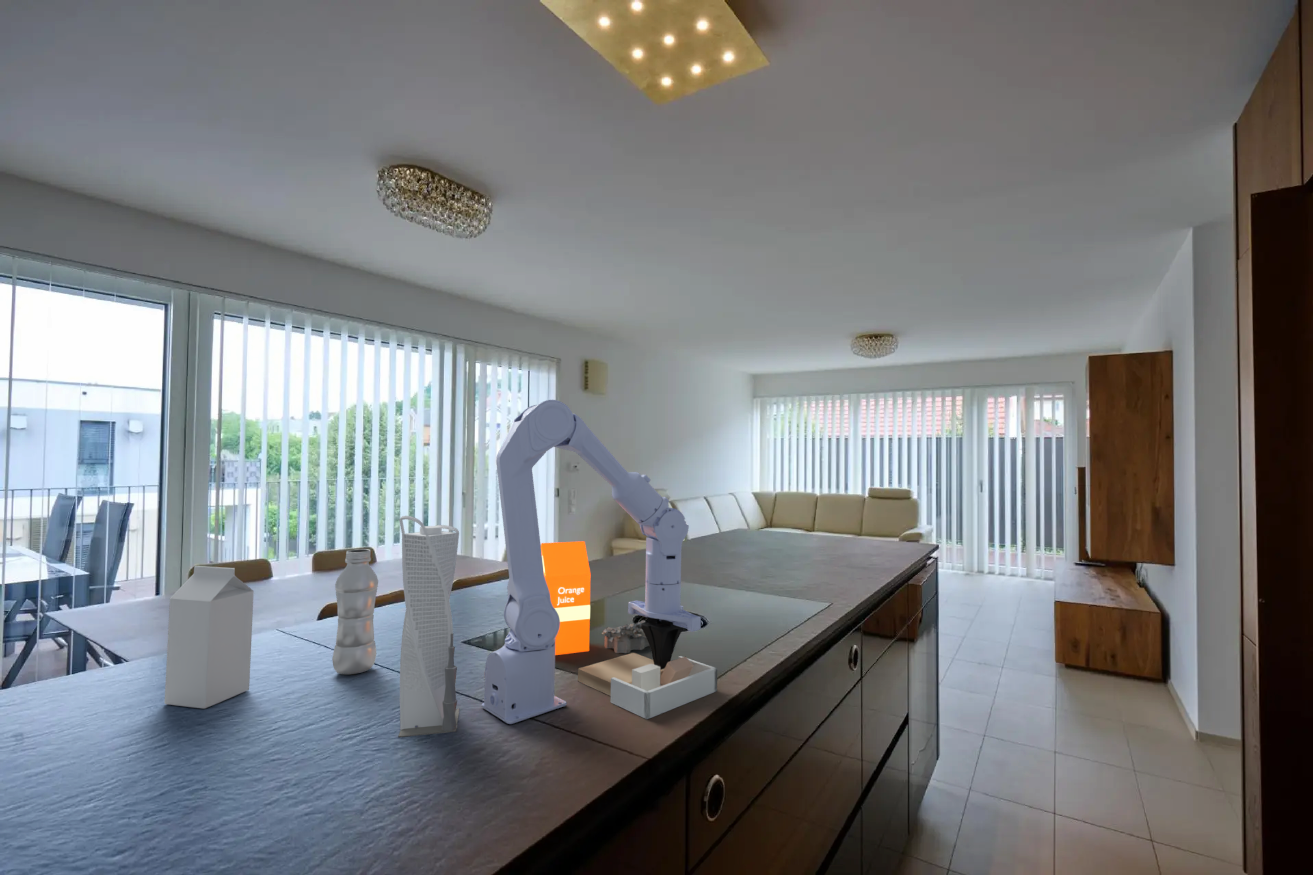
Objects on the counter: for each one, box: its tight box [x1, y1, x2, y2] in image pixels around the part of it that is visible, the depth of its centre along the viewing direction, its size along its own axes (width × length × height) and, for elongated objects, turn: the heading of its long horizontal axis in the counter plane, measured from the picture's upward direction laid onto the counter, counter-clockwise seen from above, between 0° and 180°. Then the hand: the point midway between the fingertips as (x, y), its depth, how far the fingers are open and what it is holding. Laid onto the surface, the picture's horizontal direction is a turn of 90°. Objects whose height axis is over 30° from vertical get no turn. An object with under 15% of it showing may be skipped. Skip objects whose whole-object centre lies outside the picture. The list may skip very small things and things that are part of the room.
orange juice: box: [540, 540, 592, 656], centre depth 112 cm, size 8×9×20 cm
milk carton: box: [164, 565, 255, 709], centre depth 86 cm, size 7×7×19 cm
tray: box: [610, 655, 718, 720], centre depth 89 cm, size 15×8×4 cm, turn 134°
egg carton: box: [601, 619, 650, 654], centre depth 114 cm, size 11×8×4 cm
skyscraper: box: [397, 515, 460, 738], centre depth 80 cm, size 8×8×28 cm
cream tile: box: [632, 664, 660, 691], centre depth 88 cm, size 4×4×2 cm
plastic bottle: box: [331, 548, 379, 675], centre depth 97 cm, size 6×7×20 cm
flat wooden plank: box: [577, 652, 664, 697], centre depth 95 cm, size 12×10×2 cm
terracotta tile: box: [660, 656, 693, 686], centre depth 91 cm, size 4×4×2 cm
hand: (662, 667), depth 93 cm, fingers closed
